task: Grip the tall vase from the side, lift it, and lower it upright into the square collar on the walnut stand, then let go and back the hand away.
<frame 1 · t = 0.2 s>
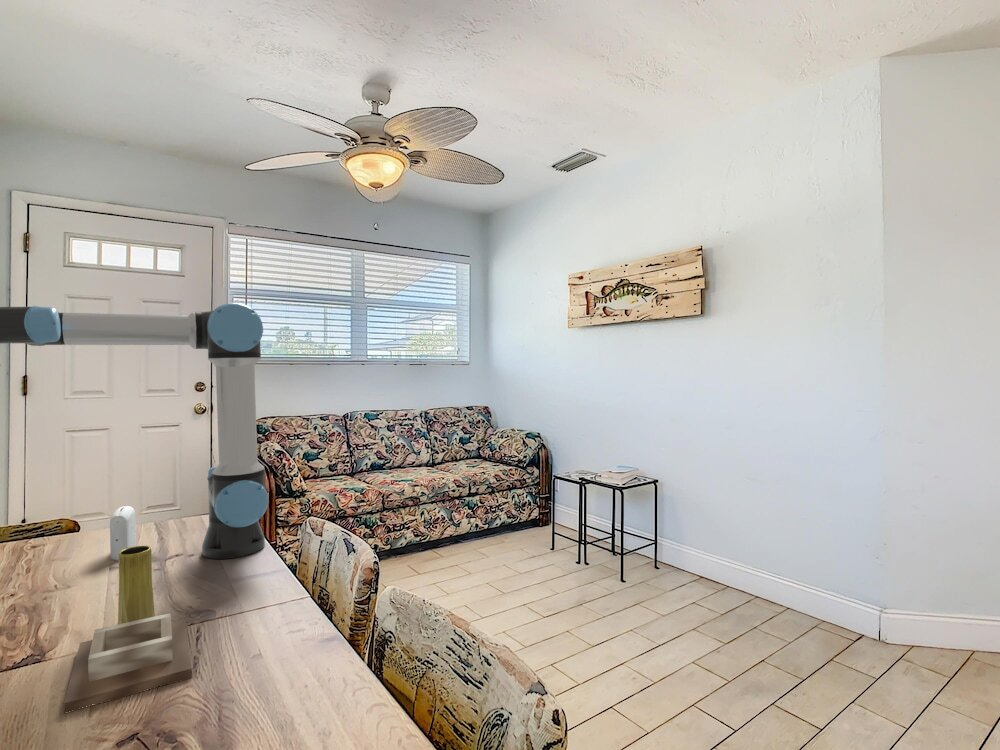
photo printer: (123, 554, 143), on the table
vase: (136, 623, 104), on the table
stand: (133, 663, 90), on the table
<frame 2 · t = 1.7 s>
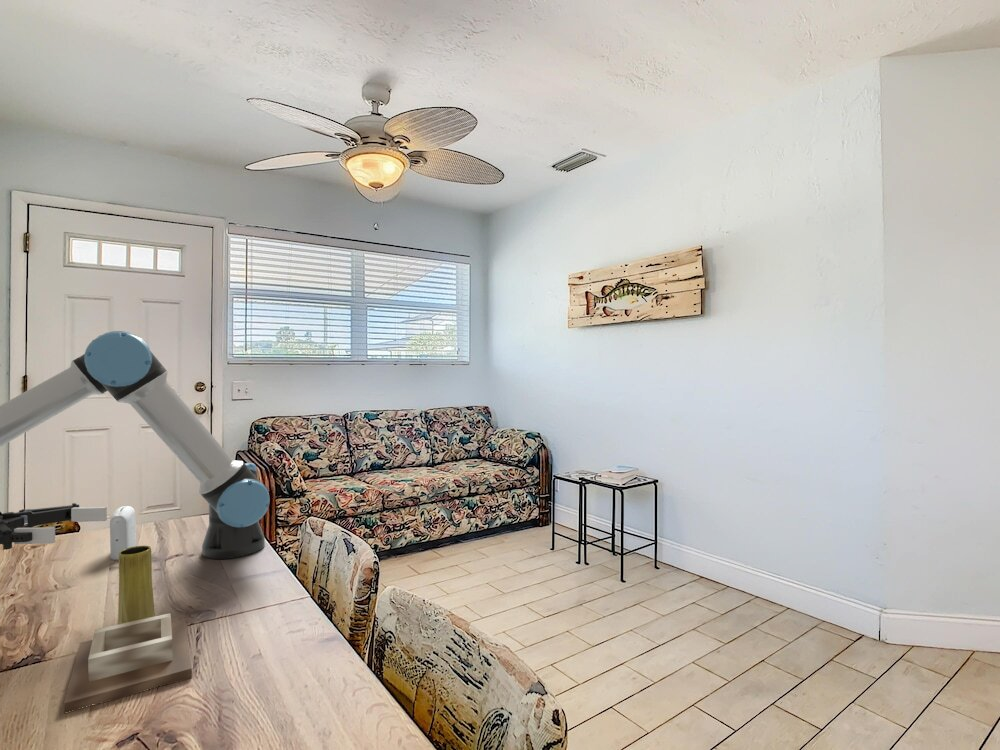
hand: (81, 523, 103), 20 cm above the table, tool horizontal, fingers open, 13 cm apart
nothing on the table moved.
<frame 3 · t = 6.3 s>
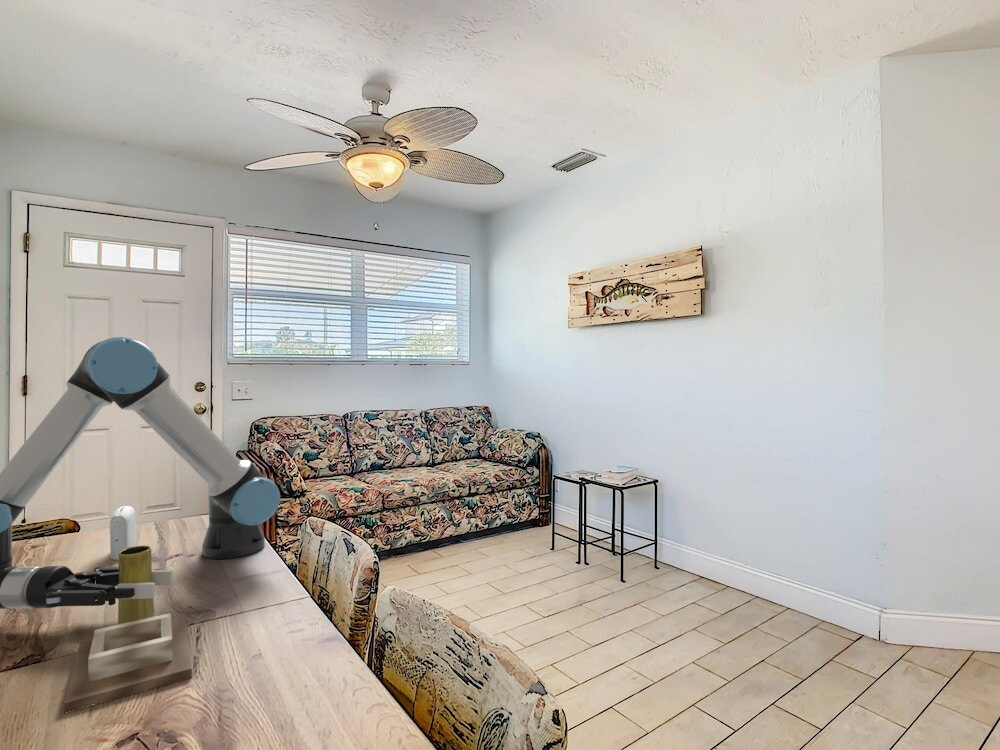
hand: (163, 583, 104), 8 cm above the table, tool horizontal, fingers closed on vase, 5 cm apart
vase: (136, 623, 104), on the table, touching gripper
everything else where it was.
when the fingers open (10 cm above the table, at t = 10.9 s): vase drops 1 cm, resting on stand.
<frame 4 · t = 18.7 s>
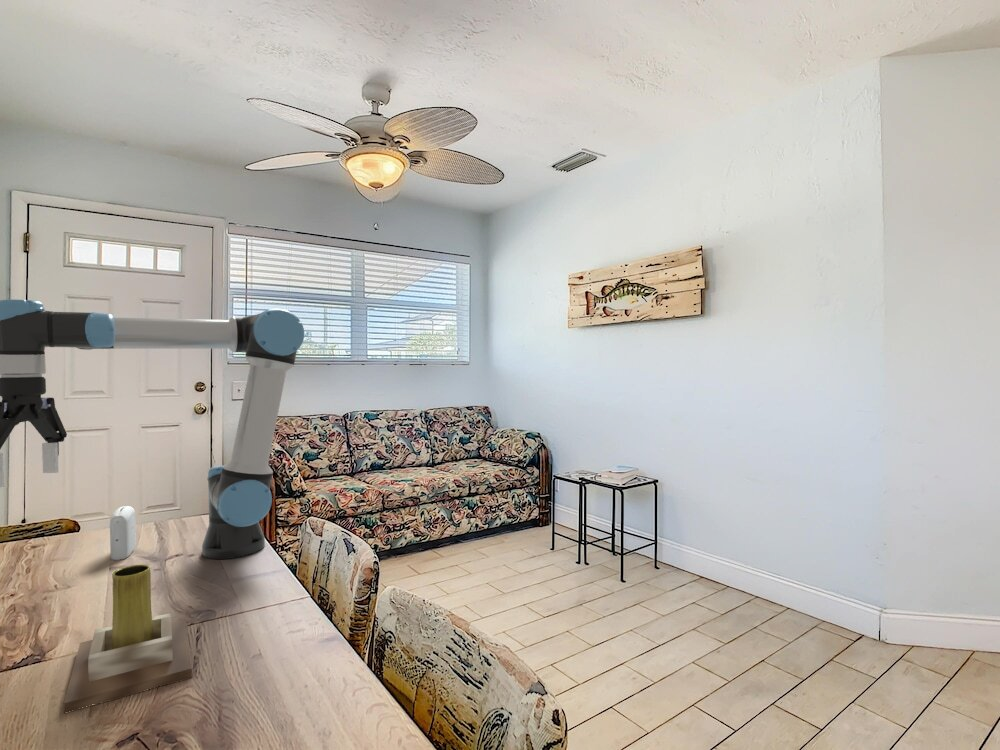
hand: (24, 479, 110), 27 cm above the table, tool pointing down, fingers open, 13 cm apart
vase: (133, 655, 90), point 1 cm above the table, touching stand
everything else where it was.
at the end: vase 0.2 cm off-centre on the stand, point 1.3 cm above the stand's base; vase tilted 0°; the gripper is holding nothing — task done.
